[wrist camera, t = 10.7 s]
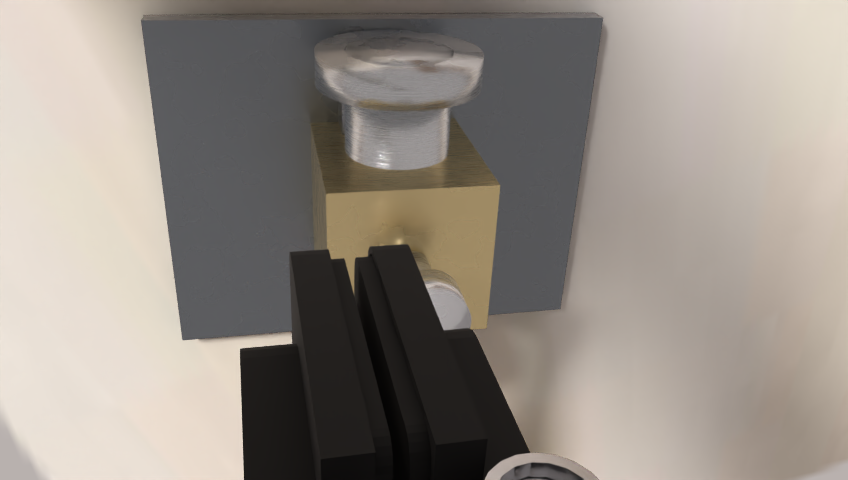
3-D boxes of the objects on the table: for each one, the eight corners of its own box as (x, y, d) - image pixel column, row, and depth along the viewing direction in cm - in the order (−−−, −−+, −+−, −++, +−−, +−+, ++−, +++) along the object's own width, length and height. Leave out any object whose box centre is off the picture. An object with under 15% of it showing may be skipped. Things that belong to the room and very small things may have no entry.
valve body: (183, 328, 48) (167, 483, 37) (143, 14, 39) (106, 96, 28) (553, 299, 53) (635, 428, 42) (594, 12, 44) (712, 82, 33)
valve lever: (391, 268, 34) (399, 293, 32) (467, 269, 34) (479, 293, 33) (360, 508, 40) (365, 539, 38) (424, 504, 41) (432, 535, 39)
